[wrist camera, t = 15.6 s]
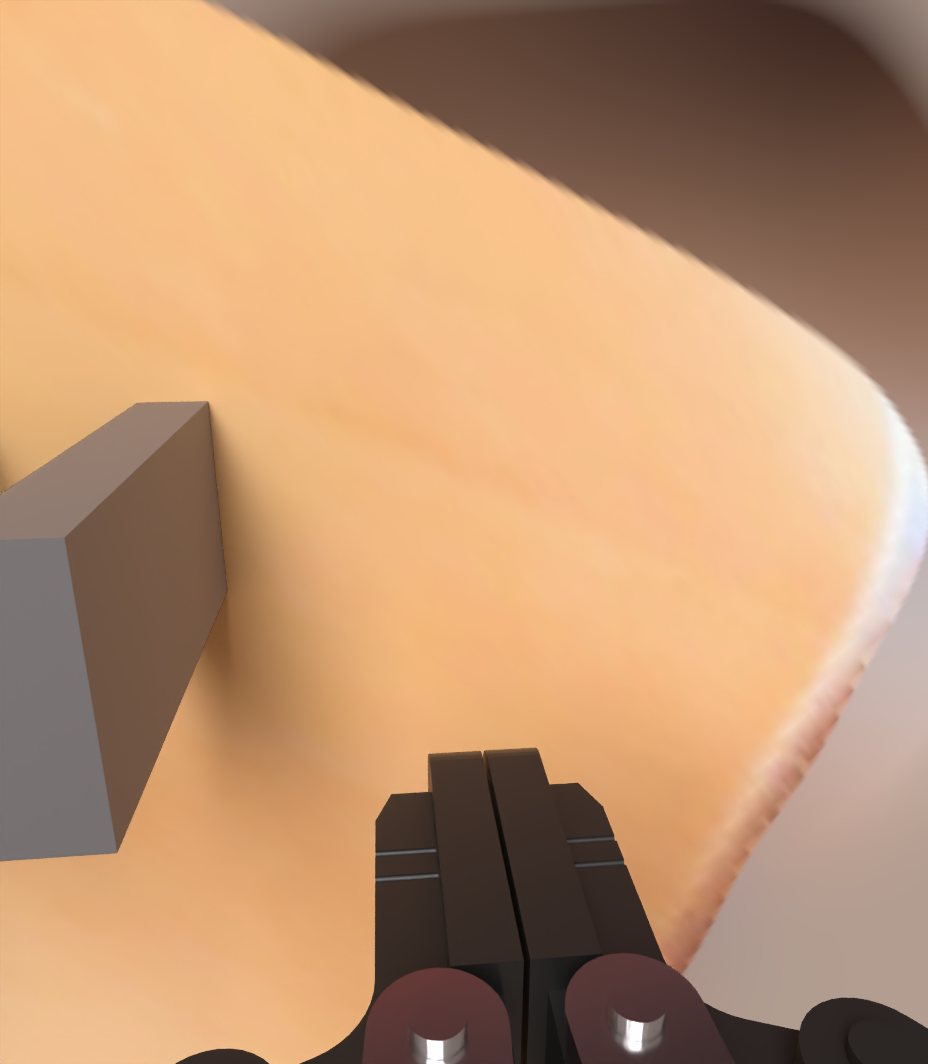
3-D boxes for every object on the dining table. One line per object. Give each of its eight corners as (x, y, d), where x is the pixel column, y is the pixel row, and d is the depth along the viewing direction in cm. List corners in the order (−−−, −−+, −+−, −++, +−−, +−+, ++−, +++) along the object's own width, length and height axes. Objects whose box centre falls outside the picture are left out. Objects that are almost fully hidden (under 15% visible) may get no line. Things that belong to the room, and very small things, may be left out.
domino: (207, 401, 24) (64, 537, 13) (227, 591, 26) (117, 853, 15) (137, 403, 24) (-72, 542, 13) (162, 593, 26) (0, 861, 15)
